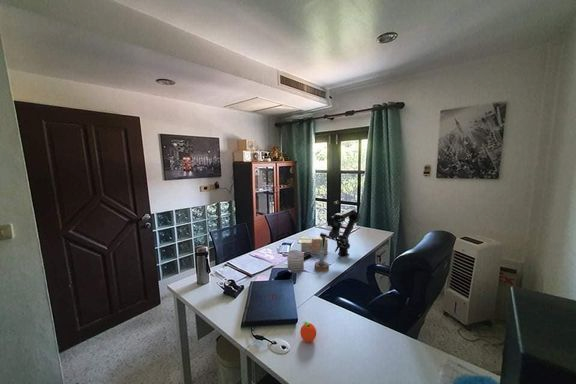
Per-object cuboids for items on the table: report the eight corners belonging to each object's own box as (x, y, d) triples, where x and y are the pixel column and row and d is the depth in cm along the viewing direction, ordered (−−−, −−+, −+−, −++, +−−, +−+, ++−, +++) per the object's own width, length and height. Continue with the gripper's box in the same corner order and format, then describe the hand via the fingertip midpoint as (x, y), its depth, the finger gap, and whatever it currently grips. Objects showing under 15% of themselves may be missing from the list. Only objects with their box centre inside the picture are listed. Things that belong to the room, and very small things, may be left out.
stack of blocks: (301, 253, 187) (301, 239, 186) (301, 250, 194) (301, 236, 192) (327, 253, 186) (327, 239, 184) (327, 250, 192) (327, 236, 190)
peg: (323, 266, 163) (322, 250, 161) (324, 268, 160) (324, 251, 158) (319, 267, 162) (318, 250, 161) (320, 269, 160) (320, 252, 158)
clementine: (296, 335, 101) (295, 321, 100) (309, 329, 104) (308, 315, 103) (306, 348, 94) (305, 333, 93) (319, 341, 97) (319, 326, 96)
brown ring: (322, 263, 168) (322, 259, 167) (331, 269, 160) (331, 264, 159) (312, 267, 163) (312, 263, 162) (320, 272, 155) (320, 268, 154)
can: (300, 264, 168) (300, 249, 166) (306, 271, 157) (306, 255, 155) (285, 267, 164) (285, 251, 163) (290, 274, 154) (290, 257, 152)
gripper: (322, 223, 167) (315, 243, 163) (347, 231, 160) (341, 252, 156) (324, 226, 177) (317, 246, 173) (348, 234, 170) (341, 254, 166)
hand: (329, 249), depth 167 cm, fingers open, 9 cm apart
